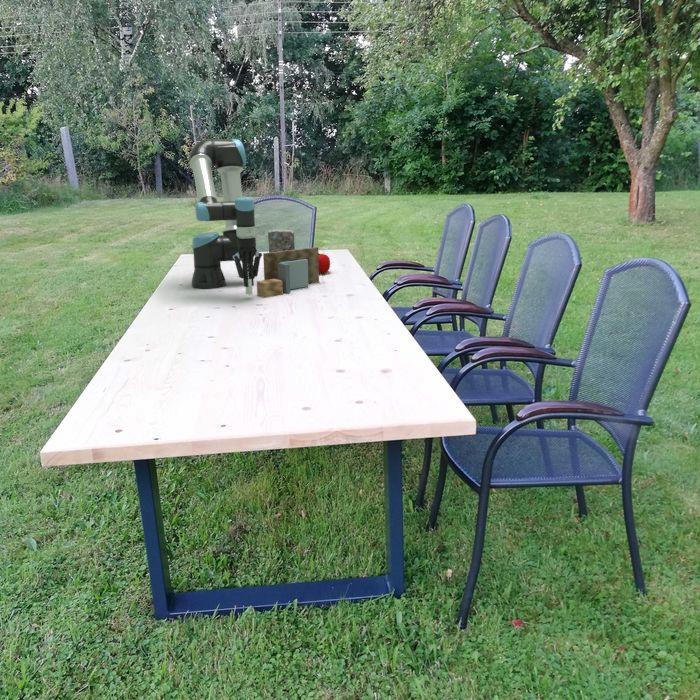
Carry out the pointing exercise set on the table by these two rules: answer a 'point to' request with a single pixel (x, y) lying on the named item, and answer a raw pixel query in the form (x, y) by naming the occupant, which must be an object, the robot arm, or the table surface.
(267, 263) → the wall frame
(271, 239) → the stone block
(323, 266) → the tomato
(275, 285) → the block
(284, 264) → the gate
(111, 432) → the table surface
